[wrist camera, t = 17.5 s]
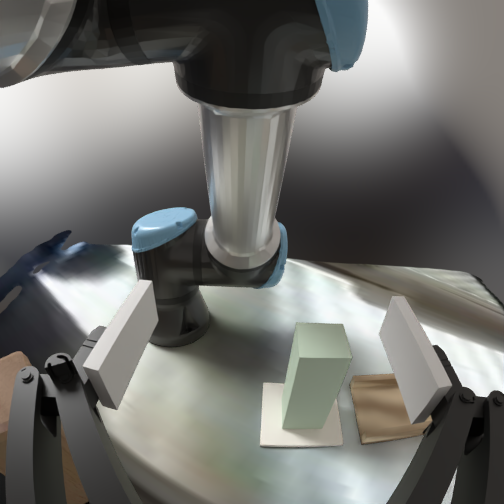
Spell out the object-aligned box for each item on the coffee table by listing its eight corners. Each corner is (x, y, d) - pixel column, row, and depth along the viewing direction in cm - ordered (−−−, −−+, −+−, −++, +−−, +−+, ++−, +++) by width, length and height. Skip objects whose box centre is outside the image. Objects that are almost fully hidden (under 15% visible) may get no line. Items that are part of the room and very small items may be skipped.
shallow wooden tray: (349, 384, 45) (353, 375, 44) (413, 380, 44) (418, 371, 43) (361, 444, 34) (366, 437, 33) (432, 432, 33) (439, 424, 32)
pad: (263, 384, 45) (263, 382, 45) (333, 386, 45) (334, 384, 45) (259, 446, 34) (260, 444, 34) (342, 445, 34) (343, 443, 34)
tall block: (281, 397, 42) (296, 322, 35) (318, 398, 42) (343, 323, 35) (281, 428, 37) (299, 357, 30) (322, 428, 36) (352, 357, 29)
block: (83, 439, 31) (21, 344, 22) (117, 488, 25) (46, 412, 16) (35, 462, 24) (-44, 374, 15) (64, 516, 18) (-33, 447, 9)
